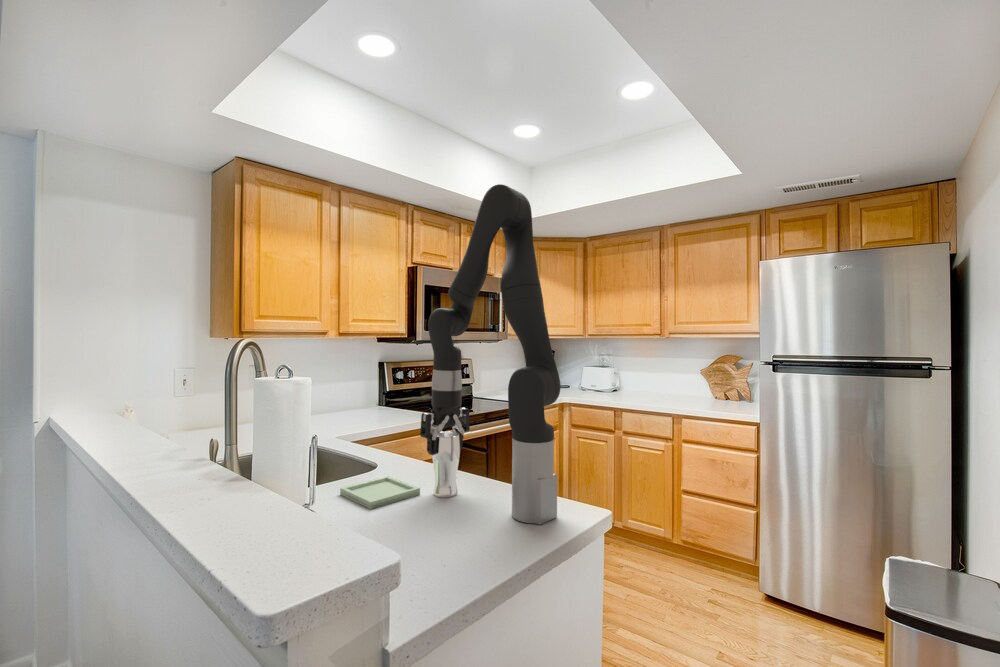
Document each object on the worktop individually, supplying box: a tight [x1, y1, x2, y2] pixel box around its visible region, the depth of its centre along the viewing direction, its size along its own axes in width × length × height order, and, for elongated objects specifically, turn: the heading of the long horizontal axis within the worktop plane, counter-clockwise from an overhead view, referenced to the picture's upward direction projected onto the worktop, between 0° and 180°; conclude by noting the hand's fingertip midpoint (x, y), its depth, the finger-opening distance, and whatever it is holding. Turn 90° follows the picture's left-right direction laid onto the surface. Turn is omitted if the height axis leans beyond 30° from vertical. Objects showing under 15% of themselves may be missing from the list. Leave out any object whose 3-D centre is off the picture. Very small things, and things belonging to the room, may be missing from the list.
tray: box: [339, 475, 421, 510], centre depth 119 cm, size 14×14×2 cm
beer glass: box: [431, 431, 461, 498], centre depth 120 cm, size 7×7×15 cm
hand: (445, 451), depth 120 cm, fingers open, 8 cm apart
